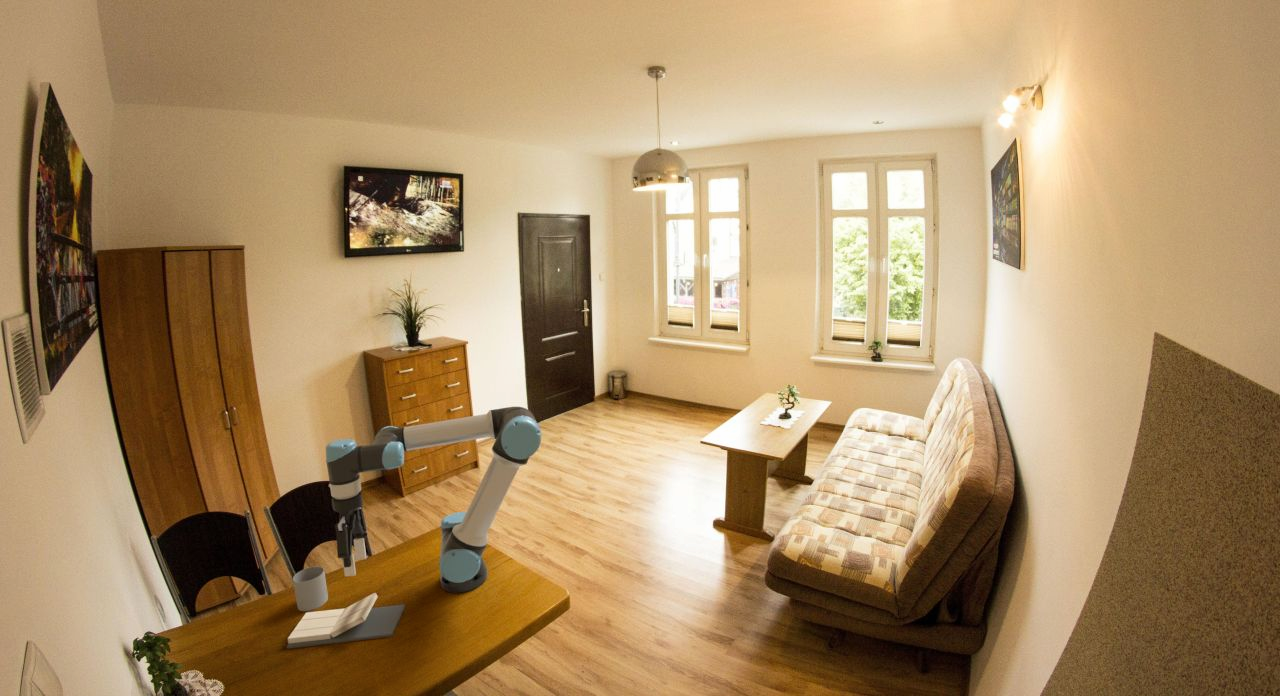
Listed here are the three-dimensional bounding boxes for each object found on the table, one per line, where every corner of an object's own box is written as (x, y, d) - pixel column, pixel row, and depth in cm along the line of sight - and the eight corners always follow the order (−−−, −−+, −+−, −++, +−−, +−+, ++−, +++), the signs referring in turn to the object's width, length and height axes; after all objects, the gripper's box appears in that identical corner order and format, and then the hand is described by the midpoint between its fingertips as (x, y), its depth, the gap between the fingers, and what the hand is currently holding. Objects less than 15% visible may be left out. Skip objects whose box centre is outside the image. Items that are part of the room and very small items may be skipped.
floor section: (405, 606, 164) (404, 599, 163) (392, 636, 151) (391, 628, 150) (308, 617, 160) (307, 610, 159) (287, 648, 147) (285, 640, 146)
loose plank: (377, 596, 161) (374, 592, 160) (364, 620, 150) (361, 616, 150) (348, 612, 160) (345, 608, 160) (332, 637, 149) (329, 633, 149)
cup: (313, 612, 162) (309, 583, 160) (290, 609, 163) (286, 580, 162) (334, 595, 170) (330, 567, 168) (312, 592, 171) (308, 565, 170)
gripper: (346, 479, 158) (355, 548, 162) (315, 512, 138) (326, 590, 142) (373, 477, 159) (381, 546, 163) (346, 509, 139) (356, 587, 143)
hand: (356, 566), depth 152 cm, fingers open, 8 cm apart
